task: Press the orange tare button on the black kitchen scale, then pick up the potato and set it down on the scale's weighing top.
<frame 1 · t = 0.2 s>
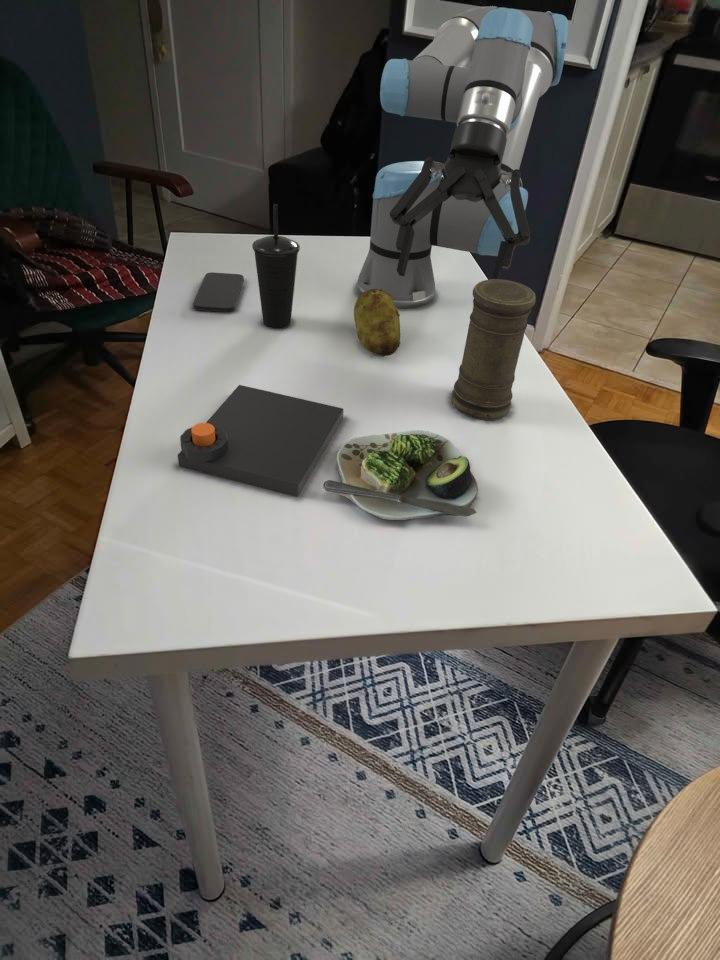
hand: (445, 282, 93), 16 cm above the table, tool tilted 35°, fingers open, 13 cm apart
tare button: (203, 434, 80), point 4 cm above the table, slide at 0.1 cm
phone: (219, 294, 121), on the table
salad plate: (409, 482, 83), on the table
container: (480, 404, 98), on the table
potato: (375, 344, 111), on the table
drinking cup: (277, 323, 114), on the table
scale: (266, 441, 87), on the table
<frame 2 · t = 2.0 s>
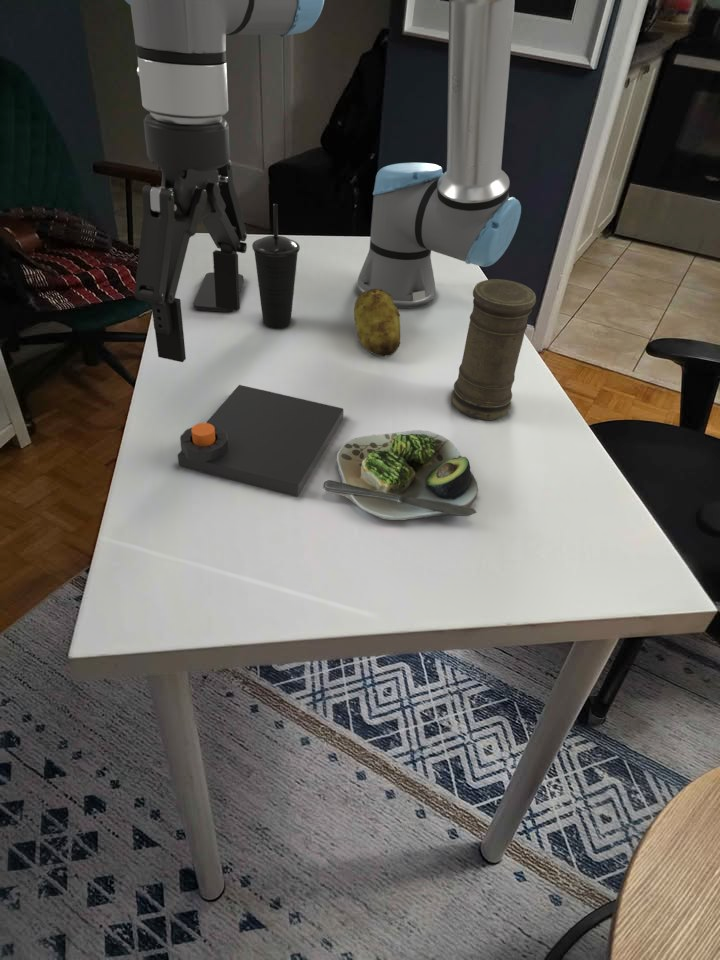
hand: (202, 331, 72), 18 cm above the table, tool pointing down, fingers open, 13 cm apart
nothing on the table moved.
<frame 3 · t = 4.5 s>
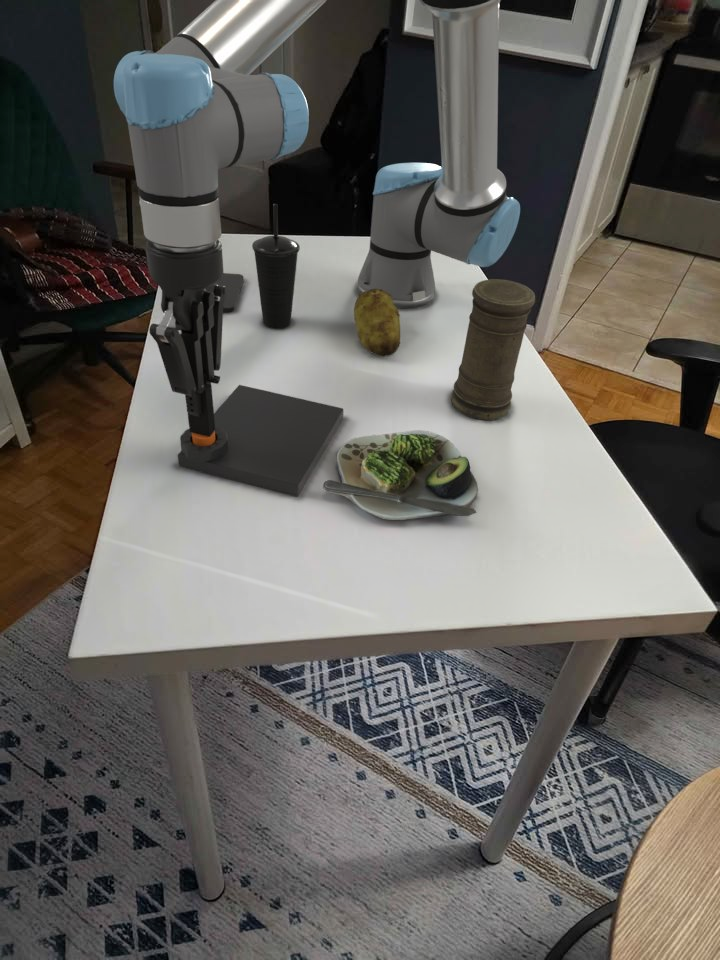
hand: (202, 430, 80), 5 cm above the table, tool pointing down, fingers closed
tare button: (203, 437, 81), point 3 cm above the table, slide at -0.4 cm, touching gripper
everything else where it was.
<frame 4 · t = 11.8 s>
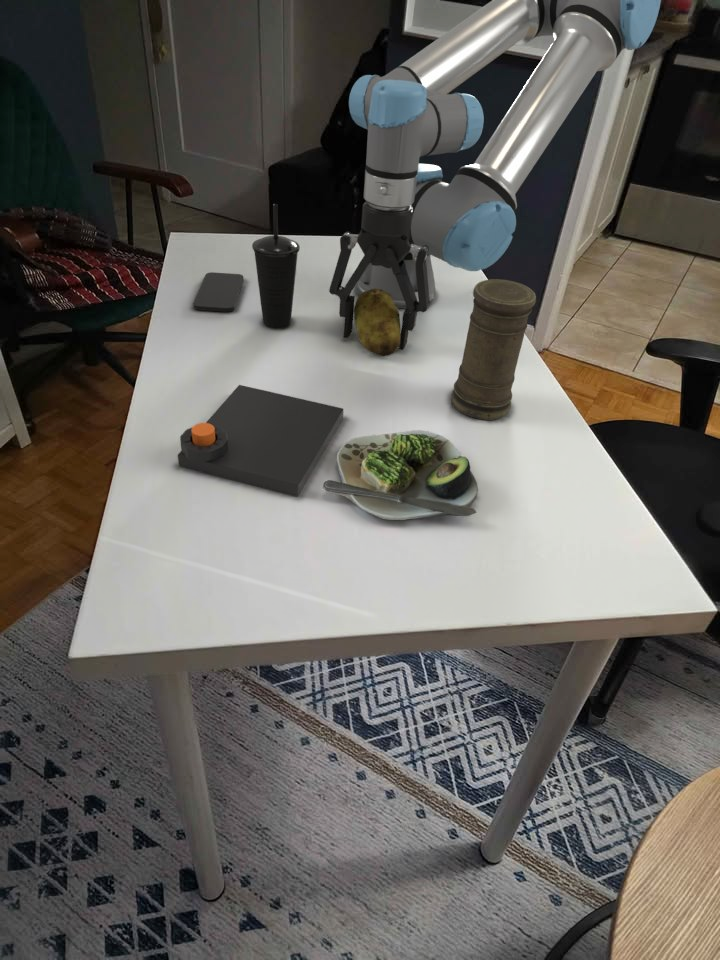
hand: (375, 340, 110), 0 cm above the table, tool pointing down, fingers closed on potato, 9 cm apart
tare button: (203, 434, 80), point 4 cm above the table, slide at 0.1 cm
potato: (375, 344, 111), on the table, touching gripper
everything else where it was.
when the fingers open (2 cm above the table, at t = 19.8 s): potato stays where it is, resting on scale.
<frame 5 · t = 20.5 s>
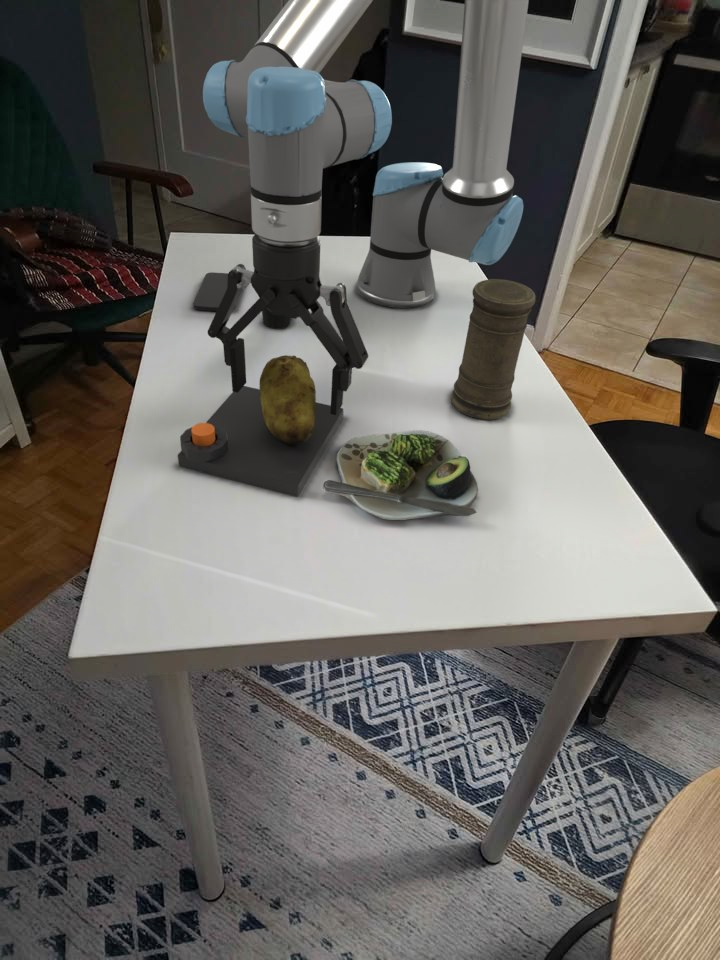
hand: (287, 398, 85), 6 cm above the table, tool pointing down, fingers open, 13 cm apart
potato: (287, 424, 87), point 2 cm above the table, touching scale
everything else where it was.
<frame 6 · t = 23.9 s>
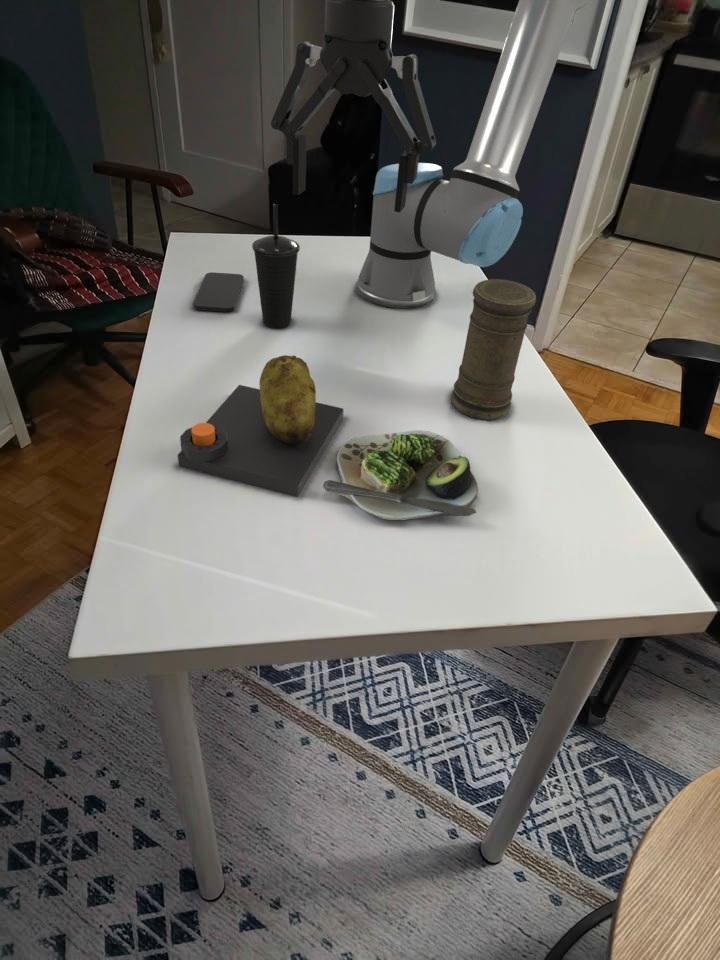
hand: (348, 200, 83), 27 cm above the table, tool pointing down, fingers open, 13 cm apart
nothing on the table moved.
at the end: tare button pushed in 0.8 cm at the most during the clip, back to where it started at the end; tare button slide at 0.1 cm; potato inside the target area on the scale (3.3 cm from its centre), point 1.7 cm above the scale's base; potato touching scale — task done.
